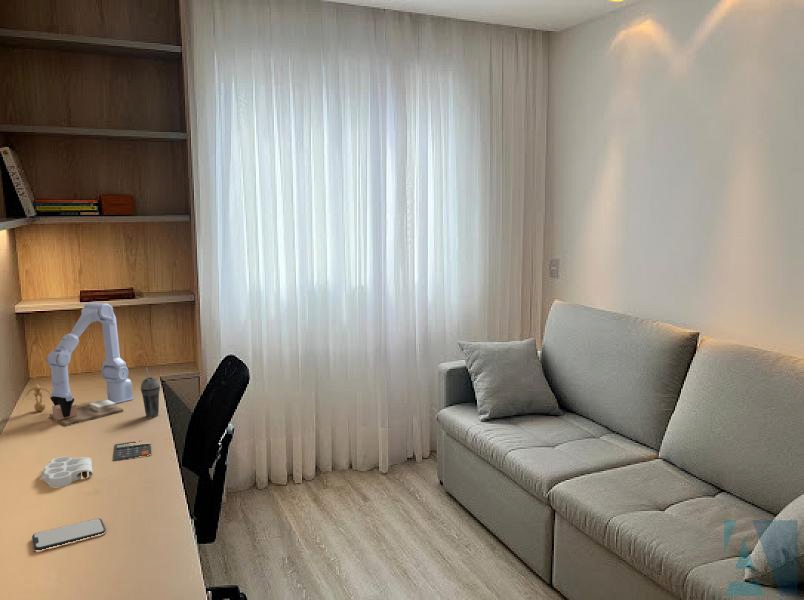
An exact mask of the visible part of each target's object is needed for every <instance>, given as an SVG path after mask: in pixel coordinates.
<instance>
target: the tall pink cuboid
mask: <svg viewBox="0 0 804 600" xmlns="http://www.w3.org/2000/svg"><path fill="white" fill-rule="evenodd" d="M77 408H78V406H77V404H76V403H75V402H73V404H72V407H71V412H70V416H68V417H63V414H62V410H61V407H60V405H56V406H54V405H53V406H52V407H51V409H52V414H53V418H55V419H57V420H61V419H65V418H69V417H73V416H77Z"/></svg>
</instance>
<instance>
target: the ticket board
mask: <svg viewBox="0 0 804 600" xmlns="http://www.w3.org/2000/svg"><path fill="white" fill-rule="evenodd" d="M119 412H120V413H123V412H124V409H123V408H121V407H119V406H117V403H115V402H112V401H110V400H108V398H106V400H105V399H102V400H98V401H97V400H96V401H93V402H90V403H89V405H85V406H80V407H77V416H73V417H69V418H65V419H61V420H57V419H55V418H53V413H51V414H49V418H51V419H52V418H53V420H54V419H55V420H54V421H56V420H57V421H56V422H58V421H59V422H58V423H60V422H61V423H60V424H62V423H63V424H64V425H63V424H62V425H63V426H65V425H66V427H68V426H67V425H69V426H72V425H71V424H73V425H75V423H77V424H80V423H79V422H81V423H84V421H85V422H88V421H87V420H89V421H91V420H95V419H101V418H104V417H107V416H111V415H115V413H116V414H119Z"/></svg>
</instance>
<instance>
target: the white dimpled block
mask: <svg viewBox="0 0 804 600" xmlns="http://www.w3.org/2000/svg"><path fill="white" fill-rule="evenodd" d="M87 471H89V478H91V477H92V476H93V475H94V473H93V472H94V471H93V462H92V458H91V457H88V456H84V457H83V456H80V457H76V458H75V457H70V456H59V457H55V458H52V459H51V460H50V461H49V463H47V464H46V465H45V466H44V467H43V470H41V471H40V472H39V473H40V474H43V475H42V476H41V477H40V478H39V479H38V480H39V481H44V482H46V483H45V484H48V483H49V484H48V487H49V486H50V487H60V488H64V487H67V486H69V485H71V484H72V483H73V482H75V481H78V479H80V480H82V479H81V472H82V473H83V472H87ZM74 480H75V481H74ZM72 481H73V482H72ZM71 482H72V483H71ZM70 483H71V484H70ZM68 484H69V485H68ZM66 485H67V486H66ZM63 486H64V487H63ZM50 487H49V488H50Z"/></svg>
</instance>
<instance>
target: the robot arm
mask: <svg viewBox="0 0 804 600" xmlns="http://www.w3.org/2000/svg"><path fill="white" fill-rule="evenodd" d="M80 311H81V315H80V316H79V318H78V320H77V321H76V323H75V324H74V326H73V328H72V330H71V332H70V333H67V334H64V335H63V336H62V337H61V341H59V343H58V344H57V346H56V347H55V348H54V350H52V351H50V352H49V353H48V355H47V358H46V359H45V362H46V363H47V364H48V365H49V370H50V373H51V385H52V389H51V393H50V394H49V396H50V397H49V399H50V401H52V403H53V406H56V405H60V407H61V410H62V414H63V417H68V416H70V412H71V407H72V404H73V403H75V398H74V397H73V395H72V393H71V389H70V379H69V366H68V365H69V364H70V363H71V359H72V358H71V357H72V353H73V352H74V350H75V349H76V348H77V346H78V345H79V343H80V340H79V338H80V337H81V335H82V334H83V333H84V332H85V330H86V329H87V328H88V326H89V325H90V324H91V323H95V322H99V323H101V325H102V326H101V327H102V335H103V336H102V337H103V344H104V345H103V346H104V354H105V360H104V361H103V362H102V364H101V365H102V368H101V371H100V372H101V377H102V378H103V379H104V381H105V383H106V393H107V398H106V399H108V400H110V401H112V402H115V403H116V404H119V403H123V402H128V401H132V400H134V395H133V383H132V380H131V379H130V378H128V376H129V369H128V367H127V362H126V361H124V360H123V359H122V358H121V355H120V354H121V351H120V346H119V345H120V344H119V343H120V342H119V334H118V325H117V317H116V315H115V313H114V307H113V306H112V305H110V304H109V303H107V302H106V303H105V302H103V303H102V302H93V301H90V302H87V303H85V304H84V305H83V308H82V309H81V310H80ZM106 399H105V398H104V400H106Z"/></svg>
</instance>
